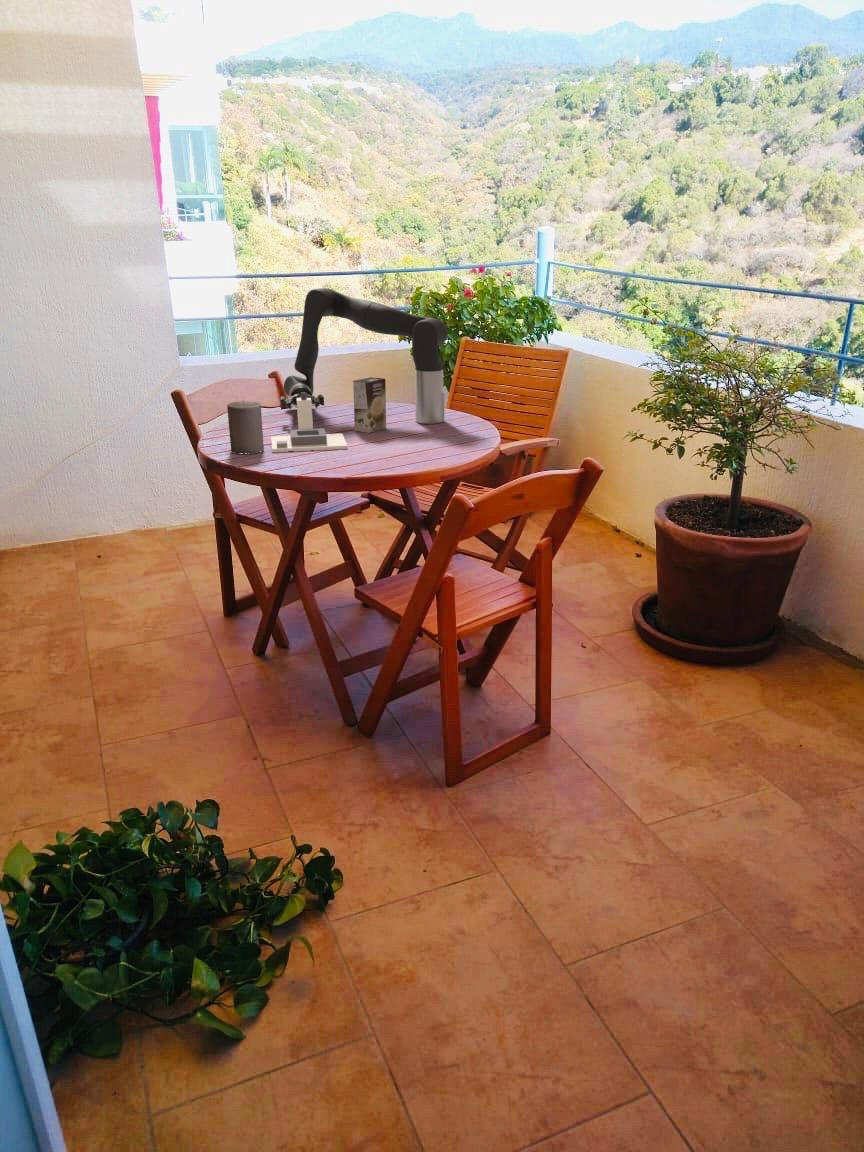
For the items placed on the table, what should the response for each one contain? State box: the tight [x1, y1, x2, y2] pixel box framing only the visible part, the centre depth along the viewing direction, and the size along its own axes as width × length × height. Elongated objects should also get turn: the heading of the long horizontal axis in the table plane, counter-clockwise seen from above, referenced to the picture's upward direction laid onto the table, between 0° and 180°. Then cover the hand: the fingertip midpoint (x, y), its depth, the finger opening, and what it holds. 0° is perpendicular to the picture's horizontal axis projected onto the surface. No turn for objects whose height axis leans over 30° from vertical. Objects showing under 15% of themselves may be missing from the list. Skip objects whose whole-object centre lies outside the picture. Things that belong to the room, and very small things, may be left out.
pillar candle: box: [226, 400, 265, 455], centre depth 243 cm, size 10×10×15 cm
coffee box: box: [352, 376, 387, 434], centre depth 268 cm, size 9×6×16 cm
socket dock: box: [270, 427, 348, 453], centre depth 252 cm, size 22×16×4 cm
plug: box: [296, 392, 314, 430], centre depth 263 cm, size 4×4×13 cm
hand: (303, 405), depth 270 cm, fingers open, 8 cm apart
